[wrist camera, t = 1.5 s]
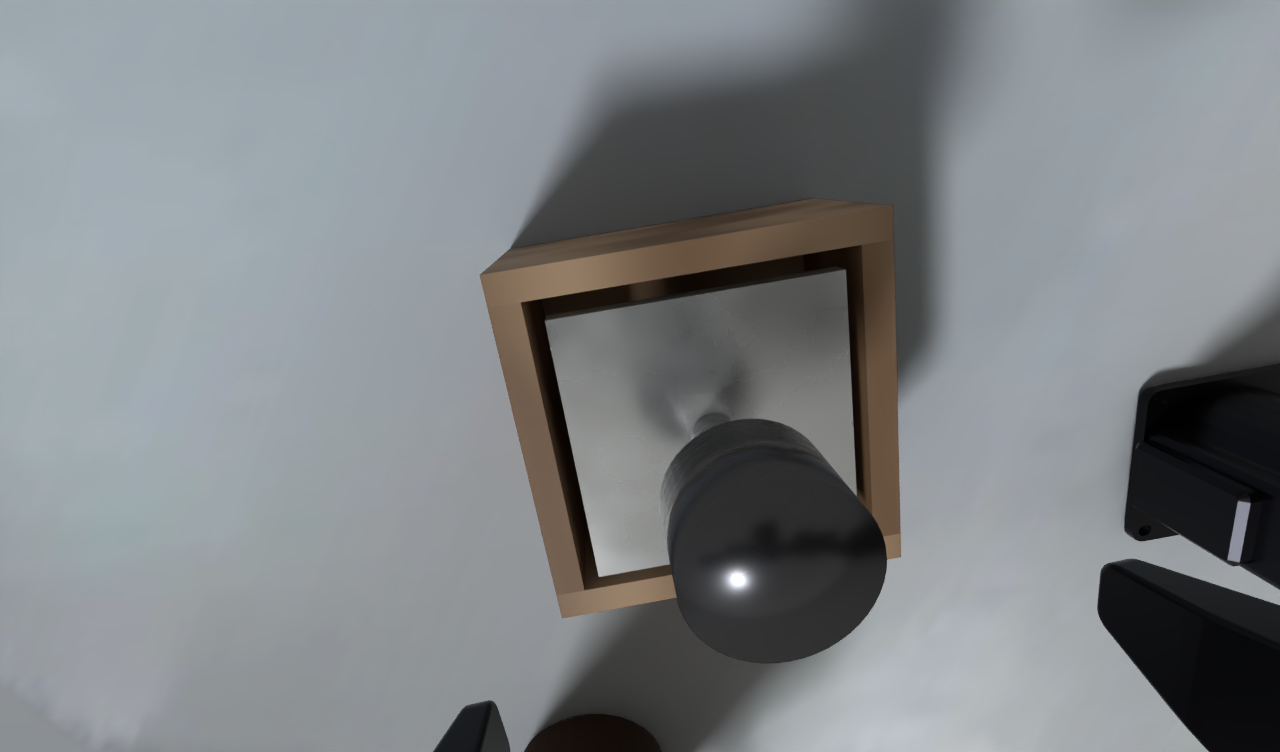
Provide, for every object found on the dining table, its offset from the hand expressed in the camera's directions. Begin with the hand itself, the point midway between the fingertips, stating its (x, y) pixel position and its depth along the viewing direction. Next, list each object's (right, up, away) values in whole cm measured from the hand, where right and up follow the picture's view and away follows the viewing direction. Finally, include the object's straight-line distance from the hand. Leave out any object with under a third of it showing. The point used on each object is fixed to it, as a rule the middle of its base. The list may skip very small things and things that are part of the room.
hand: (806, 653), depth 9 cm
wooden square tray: (-1, +4, +13) cm, 13 cm away
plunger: (0, +3, +8) cm, 8 cm away
